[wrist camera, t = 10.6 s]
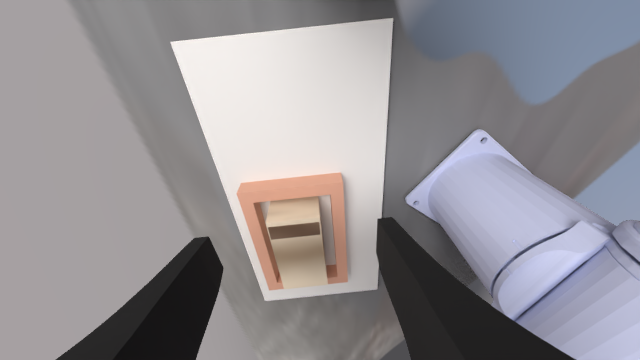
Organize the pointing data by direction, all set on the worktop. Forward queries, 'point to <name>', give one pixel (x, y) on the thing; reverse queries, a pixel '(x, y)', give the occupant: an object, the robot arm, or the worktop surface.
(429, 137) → the worktop surface
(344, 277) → the terracotta frame
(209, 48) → the white mat
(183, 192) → the worktop surface
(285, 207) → the maple block
